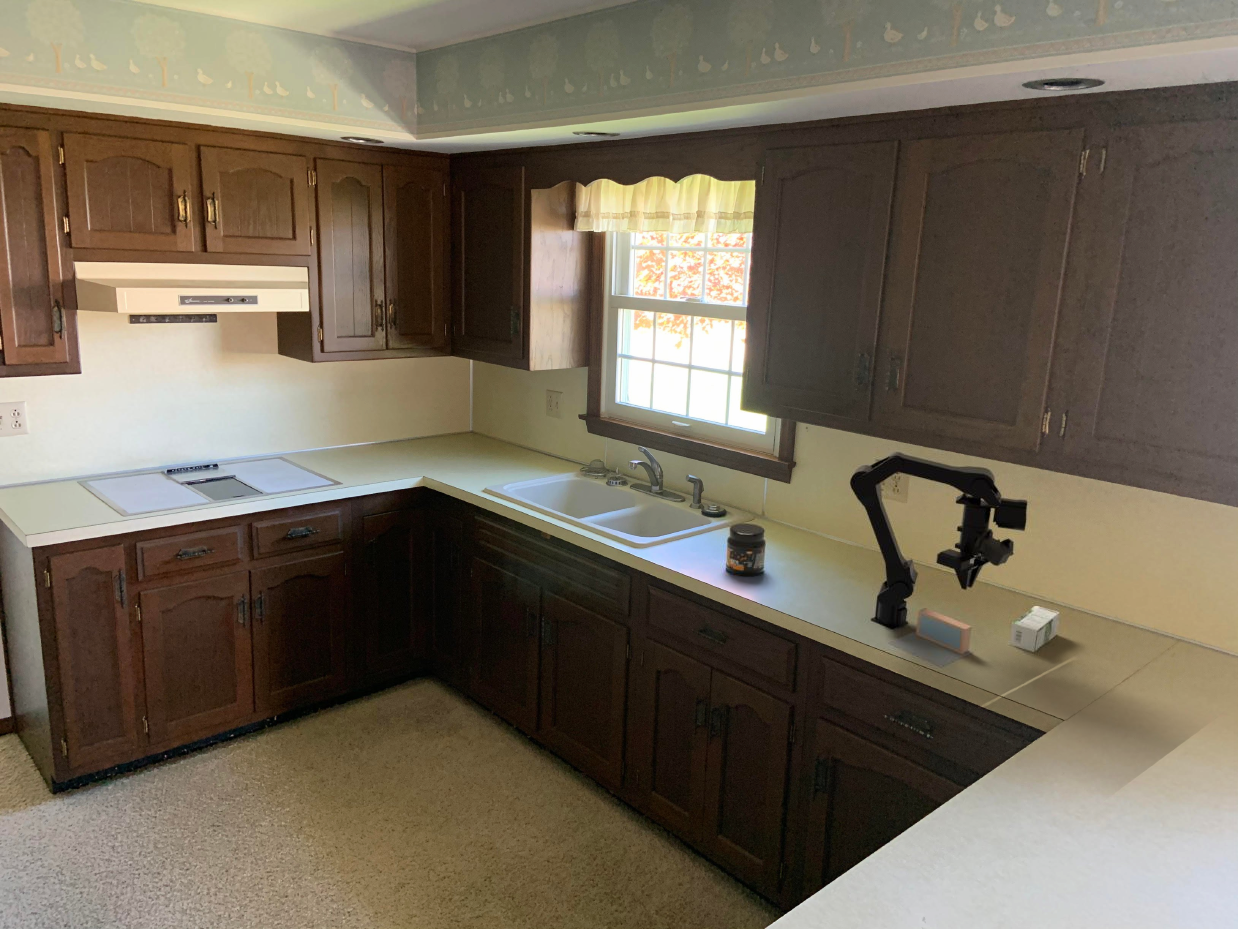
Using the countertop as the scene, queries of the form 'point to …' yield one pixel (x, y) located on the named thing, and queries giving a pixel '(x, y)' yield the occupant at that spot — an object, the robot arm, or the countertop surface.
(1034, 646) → the syrup box
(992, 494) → the robot arm
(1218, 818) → the countertop surface
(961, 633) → the tile
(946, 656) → the mat
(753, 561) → the supplement container
